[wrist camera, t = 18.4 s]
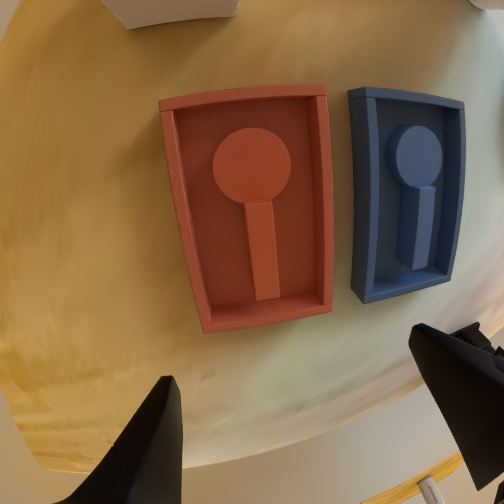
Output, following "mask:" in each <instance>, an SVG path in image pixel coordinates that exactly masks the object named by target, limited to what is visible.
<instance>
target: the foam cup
mask: <svg viewBox="0 0 504 504" xmlns="http://www.w3.org/2000/svg"><path fill="white" fill-rule="evenodd" d="M468 1H470V2H471V3H472V4H473V5H474V6H475V7H478V8H480V9H482V10H483V9H486V10H504V0H468Z"/></svg>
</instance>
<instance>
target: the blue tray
mask: <svg viewBox="0 0 504 504" xmlns="http://www.w3.org/2000/svg"><path fill="white" fill-rule="evenodd" d="M348 94H349V105H350V116H351V130H352V147H353V172H354V236H353V262H352V279H351V289H352V290H353V291H354V293H355V294H356V295H357V297H358V298H359V299H360V300H361V302H362V303H363V304H367V303H371V302H375V301H379V300H383V299H387V298H391V297H395V296H399V295H402V294H406V293H410V292H413V291H417V290H421V289H424V288H428V287H431V286H435V285H438V284H441V283H445V282H448V281H450V279H451V274H452V270H453V265H454V260H455V255H456V249H457V243H458V237H459V231H460V223H461V216H462V207H463V196H464V183H465V162H466V129H465V111H464V110H465V108H464V102H462V101H458V100H453V99H449V98H444V97H439V96H434V95H428V94H422V93H416V92H410V91H402V90H395V89H386V88H376V87H361V88H356V89H352V90H348ZM404 125H414V126H423V127H426V128H428V129H429V130H430V131H432V132H433V133H434V134H435V136H436V137H437V139H438V141H439V143H440V146H441V150H442V165H441V169H440V172H439V174H438V176H437V178H436V180H435V181H434V182H433V183H432V184H431V185H430V186H432V187H435V200H434V212H433V223H432V232H431V240H430V247H429V254H428V260H427V266H426V267H425V268H421V269H417V270H413V271H412V270H410V269H409V268H408V267H407V266H406V265H404V264H403V263H402V262H401V261H399V260H398V259H397V248H398V237H399V224H400V208H401V183H400V182H398V181H397V180H395V179H394V178H393V177H392V175H391V174H390V172H389V170H388V168H387V165H386V160H385V148H386V144H387V141H388V139H389V137H390V135H391V134H392V132H393V131H394V130H396V129H397V128H398V127H400V126H404Z"/></svg>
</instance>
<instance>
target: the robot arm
mask: <svg viewBox="0 0 504 504" xmlns="http://www.w3.org/2000/svg"><path fill="white" fill-rule="evenodd" d="M479 326H480V323H479V322H476V323H474V324H472V325H470V326H467V327H465V328H463V329H461V330H459V331H456V332H454V333H452V334H450V335H448V334H446V333H443V332H441V331H439V330H437V329H434V328H432V327H430V326H428V325H425V324H423V323H420V324H417V325H414V326H413V327H412V330H411V334H410V338H409V342H408V344H409V348H410V350H411V352H412V354H413V357H414V359H415V361H416V364H417V366H418V368H419V371H420V373H421V375H422V377H423V379H424V381H425V383H426V385H427V386H428V388H429V390H430V392H431V394H432V396H433V397H434V399H435V401H436V403H437V405H438V407H439V409H440V411H441V413H442V414H443V417H444V419H445V420H446V422H447V424H448V427H449V429H450V431H451V433H452V435H453V437H454V439H455V441H456V443H457V445H458V447H459V449H460V452H461V453H462V456H463V459H464V461H465V463H466V465H467V468H468V470H469V472H470V475H471V477H472V479H473V482H474V484H475V487H476V489H477V491H479V490H481V489H482V488H483V487H485V486H486V485H488V484H489V483H490V482H492V481H493V480H494V479H495V478H497V477H498V476H499V475H500V474H502V473H503V472H504V349H502V348H501V347H500V346H498V348H497V350H495V349H494V348H493V347H492V346H491V342H490V341H489V340H488V339H487V338H486V337H485V336H484V335H483V334H482V333H481V332H480V331H479V330H478V329H479ZM182 447H183V424H182V411H181V396H180V390H179V388H178V386H177V383H176V381H175V379H174V377H173V376H171V375H170V376H162V377H160V379H159V380H158V381H157V383H156V384H155V386H154V387H153V388H152V390H151V391H150V393H149V394H148V396H147V397H146V398H145V400H144V401H143V403H142V404H141V406H140V407H139V408H138V410H137V411H136V413H135V414H134V416H133V417H132V418H131V420H130V421H129V423H128V424H127V426H126V427H125V428H124V430H123V431H122V433H121V434H120V436H119V437H118V438H117V440H116V441H115V443H114V444H113V446H112V447H111V448H110V450H109V451H108V453H107V454H106V455H105V457H104V458H103V459H102V461H101V462H100V463H99V464H98V466H97V467H96V468H95V469H94V470H93V472H92V473H91V474H90V475H89V476H88V477H87V478H86V479H85V481H83V483H82V484H81V485H80V486H79V487H78V488H77V489H76V490H75V491H74V492H73V493H72V494H71V495H70V496H69V497H67V498H66V499H64V500H62V501H60V502H57V503H53V504H181V481H182V480H181V478H182ZM494 504H504V481H502V482H501V483H500V484H499V486H498V490H497V494H496V498H495V501H494Z"/></svg>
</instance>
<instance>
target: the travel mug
mask: <svg viewBox="0 0 504 504" xmlns="http://www.w3.org/2000/svg"><path fill="white" fill-rule="evenodd" d="M417 484H418V486H419V488H420V490H421V492H422V494H423V497H424V499H425V501H426V503H427V504H446V503H445V501H444V499H443V497H442V495H441V493H440V491H439V489H438V487H437V485H436V483H435V481H434V479H433V477H432V475H428V476H426V477H425V478H423V479H421V480H420V481H419V482H418V483H417Z"/></svg>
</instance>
